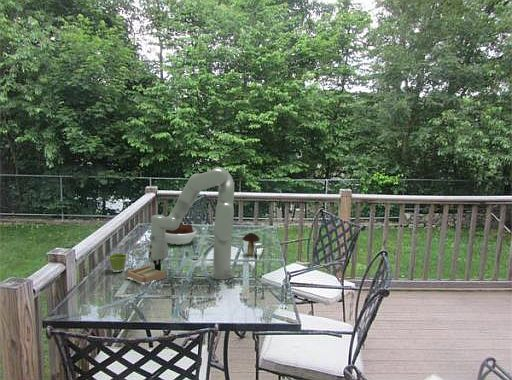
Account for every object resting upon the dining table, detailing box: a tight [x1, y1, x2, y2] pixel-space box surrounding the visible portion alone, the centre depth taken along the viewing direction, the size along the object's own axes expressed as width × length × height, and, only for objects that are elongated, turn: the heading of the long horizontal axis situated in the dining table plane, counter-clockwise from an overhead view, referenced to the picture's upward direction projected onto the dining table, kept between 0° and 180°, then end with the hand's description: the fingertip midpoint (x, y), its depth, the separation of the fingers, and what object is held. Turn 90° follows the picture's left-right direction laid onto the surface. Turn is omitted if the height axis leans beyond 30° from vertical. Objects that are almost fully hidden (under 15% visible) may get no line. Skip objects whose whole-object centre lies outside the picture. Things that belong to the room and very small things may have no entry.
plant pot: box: [108, 253, 128, 270], centre depth 225 cm, size 9×9×9 cm
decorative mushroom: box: [242, 232, 260, 256], centre depth 265 cm, size 11×11×15 cm
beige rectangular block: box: [136, 267, 162, 277], centre depth 217 cm, size 8×11×4 cm
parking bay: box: [125, 264, 167, 282], centre depth 216 cm, size 14×14×4 cm
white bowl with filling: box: [165, 222, 198, 246], centre depth 287 cm, size 25×25×15 cm
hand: (157, 270), depth 223 cm, fingers closed
